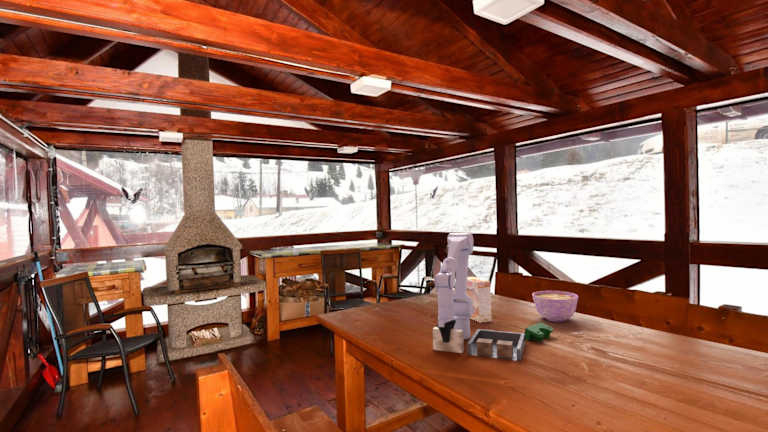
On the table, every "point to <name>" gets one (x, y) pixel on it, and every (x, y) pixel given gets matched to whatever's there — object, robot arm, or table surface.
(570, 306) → the bowl of food
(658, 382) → the table surface
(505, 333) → the tray
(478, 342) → the offcut left
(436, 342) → the birch block
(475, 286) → the coffeecake box
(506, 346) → the offcut right
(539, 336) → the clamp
